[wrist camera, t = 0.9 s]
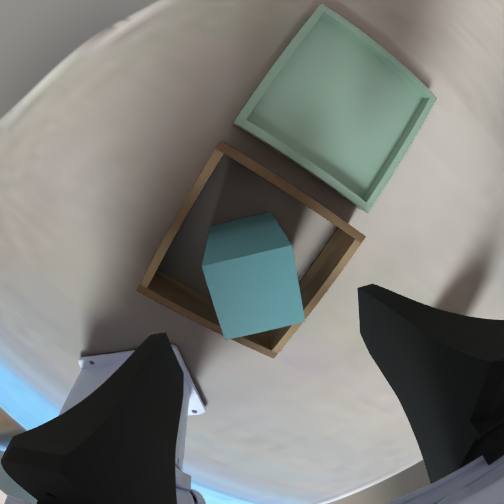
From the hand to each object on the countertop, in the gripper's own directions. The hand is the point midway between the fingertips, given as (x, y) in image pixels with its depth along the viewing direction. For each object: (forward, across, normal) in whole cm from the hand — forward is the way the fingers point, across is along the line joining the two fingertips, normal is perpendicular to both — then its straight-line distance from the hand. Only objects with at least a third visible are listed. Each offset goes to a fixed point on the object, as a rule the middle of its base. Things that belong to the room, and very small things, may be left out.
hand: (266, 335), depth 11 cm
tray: (+10, -8, -8) cm, 15 cm away
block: (+10, 0, 0) cm, 10 cm away
